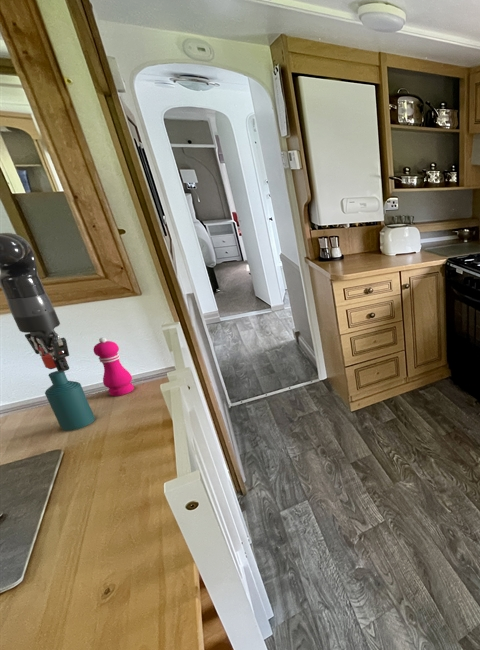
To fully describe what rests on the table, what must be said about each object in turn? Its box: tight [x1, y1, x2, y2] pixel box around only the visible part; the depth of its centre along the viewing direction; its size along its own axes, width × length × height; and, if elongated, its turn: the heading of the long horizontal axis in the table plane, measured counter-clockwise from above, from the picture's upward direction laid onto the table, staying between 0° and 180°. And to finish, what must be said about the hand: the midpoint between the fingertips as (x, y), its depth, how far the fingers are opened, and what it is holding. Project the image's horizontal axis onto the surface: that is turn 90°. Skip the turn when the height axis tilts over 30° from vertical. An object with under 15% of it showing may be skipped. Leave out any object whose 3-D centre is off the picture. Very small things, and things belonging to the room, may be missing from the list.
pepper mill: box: [93, 337, 135, 397], centre depth 125 cm, size 7×7×20 cm
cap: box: [40, 353, 68, 369], centre depth 104 cm, size 4×4×3 cm
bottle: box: [44, 370, 96, 432], centre depth 108 cm, size 7×7×17 cm
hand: (58, 369), depth 105 cm, fingers closed on cap, 4 cm apart
